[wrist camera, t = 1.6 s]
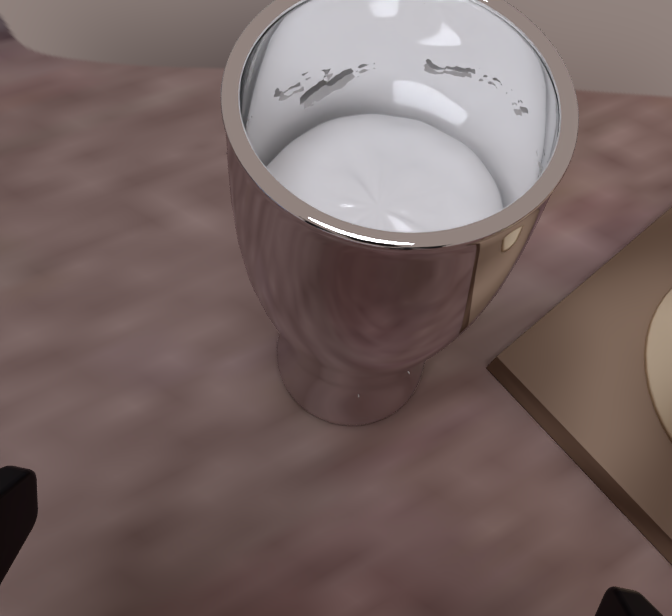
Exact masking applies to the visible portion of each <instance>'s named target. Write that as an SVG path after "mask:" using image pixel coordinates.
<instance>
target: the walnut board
mask: <svg viewBox="0 0 672 616" xmlns="http://www.w3.org/2000/svg"><path fill="white" fill-rule="evenodd" d="M487 369H488V370H489V371H490V372H491V373H492V374H493V375H494V377H495V378H496V379H497V380H498V381H499V382H500V383H501V384H502V385H503V386H504V387H505V388H506V389H507V390H508V391H509V392H510V393H511V395H512V396H513V397H514V398H515V399H516V400H517V401H518V402H519V403H520V404H521V405H522V406H523V407H524V408H525V409H526V410H527V412H528V413H529V414H530V415H531V416H532V417H533V418H534V419H535V420H536V421H537V422H538V423H539V424H540V425H541V426H542V427H543V429H544V430H545V431H546V432H547V433H548V434H549V435H550V436H551V437H552V438H553V439H554V440H555V441H556V442H557V443H558V444H559V446H560V447H561V448H562V449H563V450H564V451H565V452H566V453H567V454H568V455H569V456H570V457H571V458H572V459H573V460H574V461H575V463H576V464H577V465H578V466H579V467H580V468H581V469H582V470H583V471H584V472H585V473H586V474H587V475H588V476H589V477H590V478H591V480H592V481H593V482H594V483H595V484H596V485H597V486H598V487H599V488H600V489H601V490H602V491H603V492H604V493H605V494H606V495H607V497H608V498H609V499H610V500H611V501H612V502H613V503H614V504H615V505H616V506H617V507H618V508H619V509H620V510H621V511H622V512H623V513H624V515H625V516H626V517H627V518H628V519H629V520H630V521H631V522H632V523H633V524H634V525H635V526H636V527H637V528H638V529H639V530H640V532H641V533H642V534H643V535H644V536H645V537H646V538H647V539H648V540H649V541H650V542H651V543H652V544H653V545H654V546H655V547H656V549H657V550H658V551H659V552H660V553H661V554H662V555H663V556H664V557H665V558H666V559H667V560H668V561H669V562H670V563H671V564H672V207H671V208H670V209H669V210H668V211H667V212H665V213H664V214H663V215H662V216H661V217H660V218H658V219H657V220H656V221H655V222H654V223H653V224H651V225H650V226H649V227H648V228H647V229H645V230H644V231H643V232H642V233H641V234H640V235H638V236H637V237H636V238H635V239H634V240H633V241H631V242H630V243H629V244H628V245H627V246H626V247H624V248H623V249H622V250H621V251H620V252H619V253H617V254H616V255H615V256H614V257H613V258H612V259H610V260H609V261H608V262H607V263H606V264H604V265H603V266H602V267H601V268H600V269H599V270H597V271H596V272H595V273H594V274H593V275H592V276H590V277H589V278H588V279H587V280H586V281H585V282H583V283H582V284H581V285H580V286H579V287H578V288H576V289H575V290H574V291H573V292H572V293H571V294H569V295H568V296H567V297H566V298H565V299H563V300H562V301H561V302H560V303H559V304H558V305H556V306H555V307H554V308H553V309H552V310H551V311H549V312H548V313H547V314H546V315H545V316H544V317H542V318H541V319H540V320H539V321H538V322H537V323H535V324H534V325H533V326H532V327H531V328H530V329H528V330H527V331H526V332H525V333H524V334H522V335H521V336H520V337H519V338H518V339H517V340H515V341H514V342H513V343H512V344H511V345H510V346H508V347H507V348H506V349H505V350H504V351H503V352H501V353H500V354H499V355H498V356H497V357H496V358H495V359H494V360H493V361H492V362H491V363H490V364H489V365H488V367H487Z"/></svg>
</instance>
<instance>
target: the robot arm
mask: <svg viewBox="0 0 672 616" xmlns="http://www.w3.org/2000/svg"><path fill="white" fill-rule="evenodd" d="M37 513H38V502H37V479H36V474H35V472H34V471H32V470H30V469H26V468H21V467H16V466H5V467H2V468H0V584H1V582H2V581H3V579H4V577H5V575H6V574H7V572H8V570H9V568H10V567H11V565H12V563H13V561H14V560H15V558H16V556H17V554H18V553H19V551H20V549H21V547H22V546H23V544H24V542H25V540H26V539H27V537H28V535H29V533H30V532H31V530H32V528H33V526H34V524H35V521H36V518H37ZM595 616H663V615H662V614H661V613H660V612H659V611H658V610H657V609H656V608H655V607H654V606H653V605H652V604H651V603H650V602H649V601H648V600H647V599H646V598H645V597H644V596H643V595H641V594H640V593H639V592H637V591H634V590H629V589H625V588H620V587H610V588H609V589H607V591H606V592H605V594H604V596H603V599H602V601H601V603H600V605H599V607H598V610H597V612H596V614H595Z"/></svg>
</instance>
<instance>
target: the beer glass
mask: <svg viewBox="0 0 672 616" xmlns="http://www.w3.org/2000/svg"><path fill="white" fill-rule="evenodd" d="M221 113H222V120H223V124H224V128H225V132H226V143H227V161H228V174H229V185H230V195H231V204H232V211H233V216H234V222H235V228H236V234H237V239H238V244H239V248H240V251H241V254H242V258H243V261H244V264H245V268H246V271H247V274H248V277H249V280H250V283H251V285H252V287H253V289H254V291H255V293H256V295H257V297H258V299H259V301H260V303H261V305H262V307H263V308H264V310H265V312H266V314H267V316H268V317H269V319H270V320H271V322H272V323H273V325H274V326H275V327H276V329H277V330H278V332H279V337H278V342H277V363H278V369H279V372H280V376H281V378H282V381H283V383H284V385H285V387H286V389H287V390H288V392H289V393H290V395H291V396H292V397H293V399H294V400H295V401H296V402H297V403H298V404H299V405H300V406H301V407H302V408H304V409H305V410H306V411H308V412H309V413H311V414H312V415H314V416H316V417H318V418H320V419H322V420H325V421H327V422H331V423H334V424H339V425H348V426H356V425H365V424H370V423H373V422H377V421H380V420H382V419H384V418H386V417H388V416H390V415H392V414H393V413H395V412H396V411H398V410H399V409H400V408H401V407H402V406H403V405H404V404H405V403H406V402H407V401H408V400H409V399H410V398H411V396H412V395H413V393H414V391H415V390H416V388H417V386H418V384H419V381H420V379H421V376H422V372H423V369H424V364H425V361H426V360H428V359H429V358H431V357H433V356H434V355H436V354H437V353H439V352H440V351H442V350H443V349H444V348H445V347H447V346H448V345H449V344H450V343H451V342H453V341H454V340H455V339H456V338H457V337H459V336H460V335H461V334H462V333H463V332H465V331H466V330H467V329H468V328H469V327H470V326H471V325H472V324H473V323H474V322H475V321H476V319H477V318H478V317H479V316H480V315H481V313H482V312H483V311H484V310H485V308H486V307H487V306H488V305H489V303H490V302H491V301H492V300H493V298H494V297H495V296H496V295H497V293H498V292H499V290H500V289H501V287H502V286H503V284H504V283H505V281H506V279H507V278H508V276H509V274H510V273H511V271H512V270H513V268H514V266H515V265H516V263H517V261H518V260H519V258H520V256H521V255H522V253H523V251H524V249H525V247H526V245H527V243H528V241H529V239H530V237H531V235H532V233H533V231H534V229H535V228H536V226H537V224H538V221H539V219H540V217H541V215H542V213H543V211H544V209H545V207H546V204H547V202H548V200H549V198H550V196H551V194H552V192H553V191H554V190H555V188H556V187H557V185H558V184H559V183H560V181H561V179H562V178H563V176H564V174H565V172H566V170H567V168H568V166H569V164H570V162H571V159H572V156H573V153H574V150H575V146H576V142H577V136H578V127H579V112H578V103H577V97H576V92H575V89H574V86H573V82H572V79H571V77H570V74H569V72H568V70H567V67H566V65H565V63H564V62H563V60H562V58H561V56H560V55H559V53H558V51H557V50H556V49H555V47H554V46H553V44H552V43H551V42H550V40H549V39H548V38H547V37H546V35H545V34H544V33H543V32H542V31H541V30H540V29H539V28H538V27H537V26H536V25H535V24H534V23H533V22H532V21H531V20H530V19H529V18H528V17H526V16H525V15H524V14H523V13H522V12H520V11H519V10H518V9H516V8H515V7H514V6H512V5H511V4H509V3H508V2H506V1H505V0H274V1H273V2H272V3H270V4H269V5H268V6H266V7H265V8H264V9H263V10H262V11H261V12H260V13H259V14H258V15H257V16H256V17H255V18H254V19H253V20H252V21H251V22H250V23H249V24H248V26H247V27H246V28H245V29H244V31H243V32H242V33H241V35H240V36H239V38H238V39H237V41H236V43H235V45H234V46H233V49H232V51H231V53H230V55H229V58H228V60H227V63H226V66H225V69H224V74H223V78H222V85H221Z"/></svg>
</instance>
